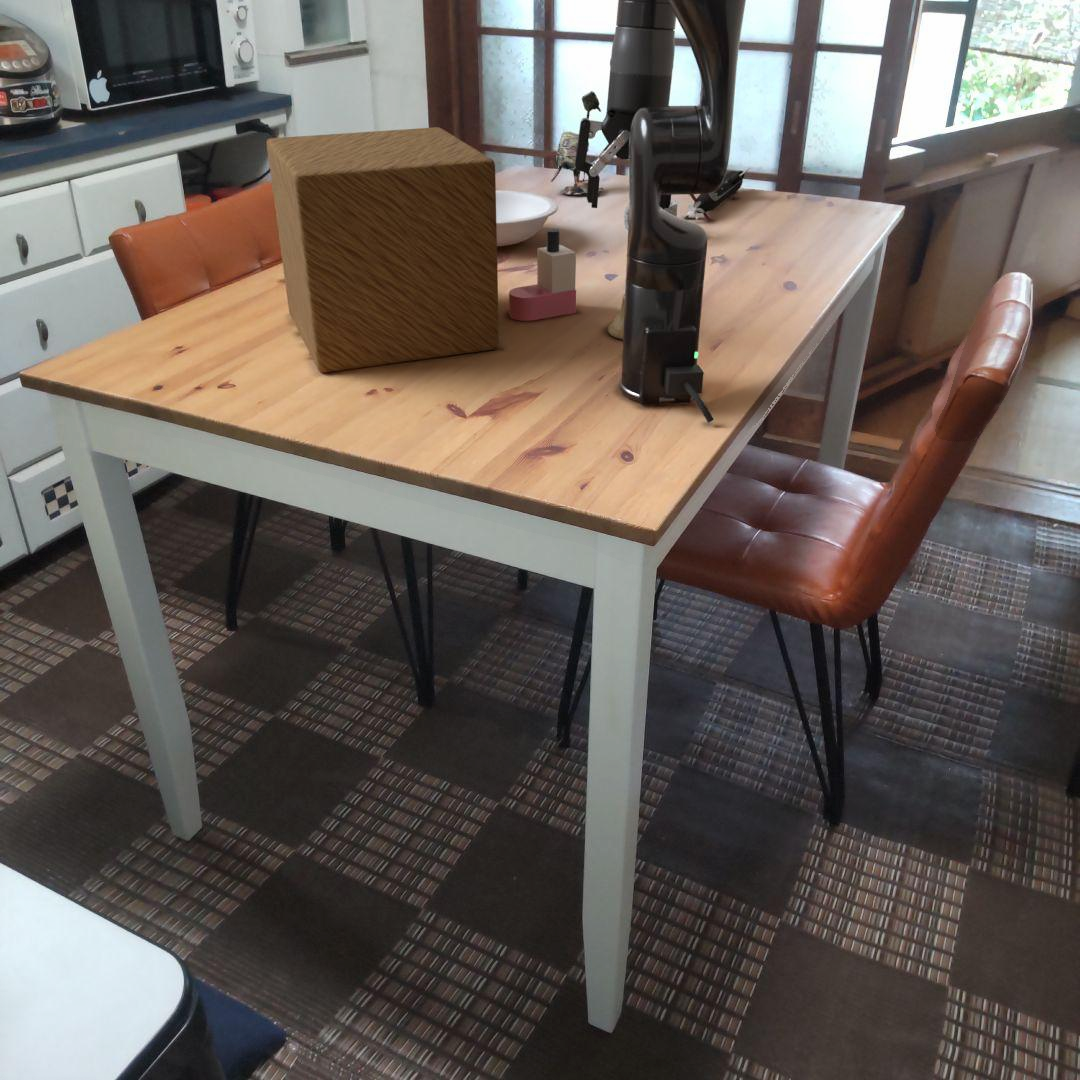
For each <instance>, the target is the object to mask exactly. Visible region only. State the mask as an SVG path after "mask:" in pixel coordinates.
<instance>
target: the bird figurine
mask: <svg viewBox="0 0 1080 1080" xmlns="http://www.w3.org/2000/svg"><path fill="white" fill-rule="evenodd" d="M581 102H582V105H583V107H584V110H585V111H586V118H588V119H589V120H590V112H592V111H593V110H594V111H595V110H598V112H600V113H601V112H602V109H601V107H600V101H599V98H598V96H597V94H596V93H595V91H593V90H591V91H590V92H588V93H586V94H584V95H583V96H582V97H581ZM578 137H579V133H575V132H572V131H568V130H567V131H566V130H563V132H562V134H561V136H560V138H559V142H558V145H557V146H558V147H557V150H556V155H555V161H556V165H557V166H558V168H557V169H556V171H555V173H554V174H553V176H552V177H551V178H550V183H553V182H554V180H556V178H557V177H558V175H559V174H560V172H561V171H562V169H565V170H569V171H571V172H572V173H573V180H574V184H573V185H568V186H566V187H565V188H564V189H563V191H562V193H561V194H562V195H568V196H569V195H570V196H571V195H582V194H584V193H585V194H587V187H588V179H585V176H586V173H584V172H583V179H580V177H581V172H582V171H580V170H577V169H576V167H575V160H576V152H577V145H578ZM589 148H590V142H589V140H588V147H587V154H586V158H587V157H588V152H589ZM602 190H604V187H602V186H601V187H599V192H598V193H600V192H601V191H602Z"/></svg>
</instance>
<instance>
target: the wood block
mask: <svg viewBox="0 0 1080 1080" xmlns="http://www.w3.org/2000/svg"><path fill="white" fill-rule="evenodd" d="M266 150H267V151H266V152H267V157H268V165H269V166H268V167H269V172H270V180H271V186H272V194H273V195H272V196H273V201H274V202H273V203H274V209H275V216H276V224H277V232H278V238H279V248H280V254H281V261H282V269H283V275H284V284H285V291H286V298H287V305H288V306H287V307H288V312H289V315H290V316H291V318H292V320H293V322H294V325H295V326H296V329H297V331H298V333H299V334H300V337H301V338H302V341H303V343H304V345H305V347H306V350H307V351H308V353H309V355H310V357H311V359H312V360H313V363H314V365H315V367H316V369H317V371H318V372H320V373H331V372H339V371H346V370H353V369H360V368H368V367H375V366H382V365H390V364H397V363H404V362H412V361H419V360H427V359H434V358H441V357H449V356H457V355H464V354H470V353H471V354H472V353H477V352H486V351H492V350H496V349H498V348H499V346H500V324H499V323H500V321H499V318H500V317H499V315H500V314H499V279H498V278H499V277H498V246H497V226H496V190H497V187H496V186H497V185H496V183H497V182H496V163H495V161H494V159H492V158H491V157H489V156H487V155H485V153H482V152H481V151H479V150H478V149H476V148H475V147H473V146H471V145H470V144H468V143H466V142H464V141H463V140H461V139H459V138H458V137H456V135H453V134H451V133H449V131H446V130H445V129H443V128H441V127H439V126H438V127H435V126H434V127H422V128H421V127H420V128H407V129H391V130H376V131H359V132H345V133H330V134H328V133H327V134H314V135H301V136H300V135H299V136H283V137H282V136H281V137H271V138H268V139H267V140H266Z"/></svg>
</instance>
